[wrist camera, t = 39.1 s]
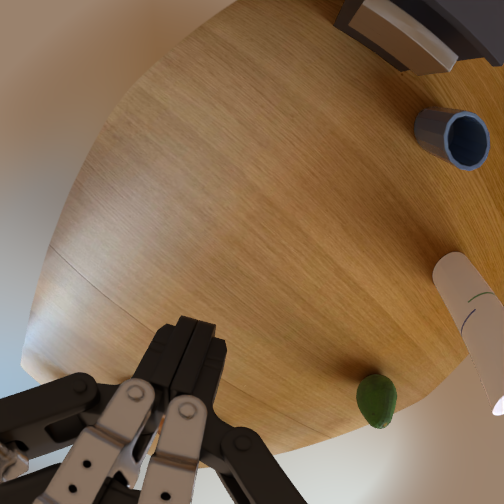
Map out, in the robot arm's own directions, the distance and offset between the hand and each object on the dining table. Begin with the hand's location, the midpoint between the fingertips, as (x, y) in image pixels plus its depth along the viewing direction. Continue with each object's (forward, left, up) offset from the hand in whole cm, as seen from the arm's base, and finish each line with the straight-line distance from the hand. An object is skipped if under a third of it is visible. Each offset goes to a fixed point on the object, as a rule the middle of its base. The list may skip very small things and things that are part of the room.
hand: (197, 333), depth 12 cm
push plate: (+8, +17, -16) cm, 25 cm away
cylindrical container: (+32, -7, -29) cm, 44 cm away
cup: (+20, +12, -29) cm, 37 cm away
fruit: (+30, -34, -29) cm, 54 cm away
